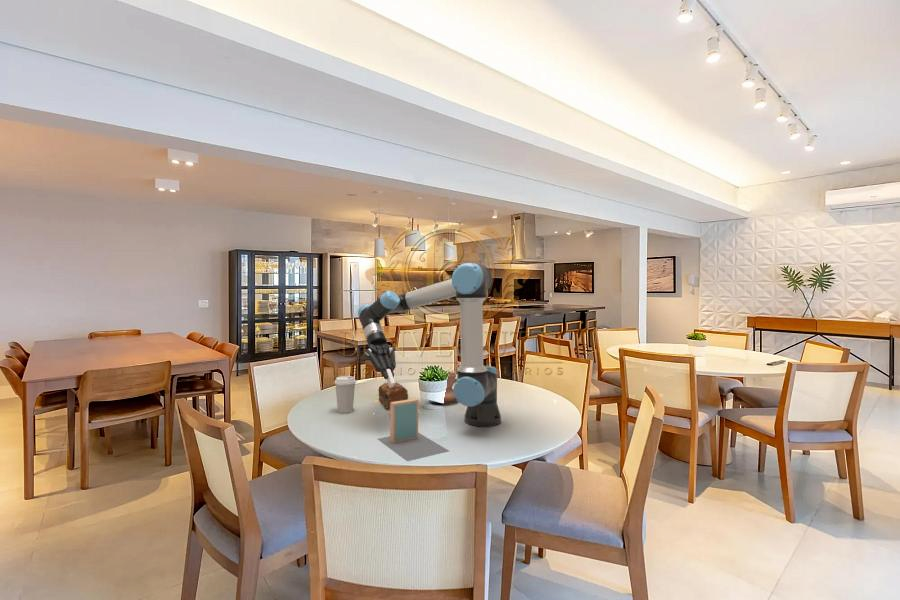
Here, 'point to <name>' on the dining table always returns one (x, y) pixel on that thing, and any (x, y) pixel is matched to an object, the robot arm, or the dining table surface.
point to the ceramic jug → (450, 388)
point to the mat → (414, 447)
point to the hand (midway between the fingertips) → (392, 385)
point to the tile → (403, 420)
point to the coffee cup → (345, 393)
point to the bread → (392, 394)
